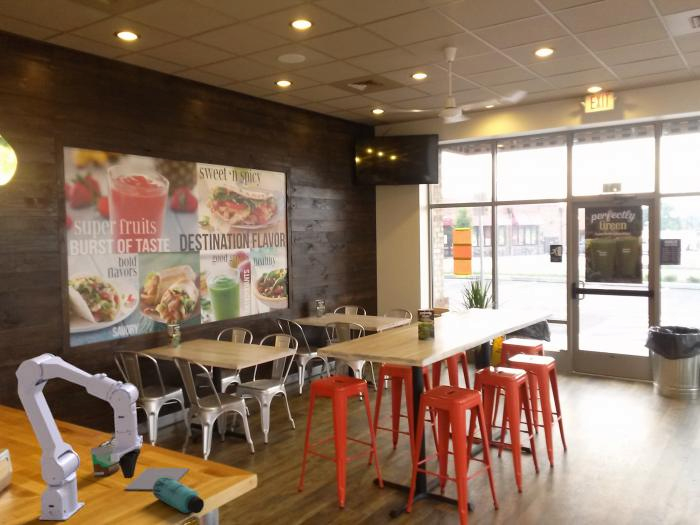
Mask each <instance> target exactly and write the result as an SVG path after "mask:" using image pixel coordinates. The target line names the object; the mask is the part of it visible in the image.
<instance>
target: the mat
mask: <svg viewBox="0 0 700 525" xmlns="http://www.w3.org/2000/svg"><path fill="white" fill-rule="evenodd" d="M189 471H190V468H189V467H187V468H185V467H184V468H180V467H178V468H177V467H147V468H146V469H145V470H143V471H142V473H141V472H140V474H139V475H138V476H137V477H136V478H135V479H134V480H132V482H130V483H129V484H128V485H127V486H126V487H125V488H124V491H140V490H153V486H154V483H155V482H156V481H157V480H158V479H159V478H161V477H164V476H165V477H170V478H171V479H173V480H175V481H177V482H180V480H181V479H182V478H183V477H184V476H185V475H186V474H187V473H188V472H189ZM186 472H187V473H186Z"/></svg>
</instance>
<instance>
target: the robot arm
mask: <svg viewBox="0 0 700 525" xmlns="http://www.w3.org/2000/svg"><path fill="white" fill-rule="evenodd" d="M15 376H16V378H17V394H18V397H19V399H20V402H21V404H22V406H23V409H24V410H25V414H26V415H27V418H28V420H29V423H30V424H31V427H32V430H33V432H34V434H35V436H36V440H37V441H38V444H39V446H40V448H41V451H42V454H41V458H40V459H39V460H40V461H39V464H40V466H41V477H42V480H44V482H45V483H46V488H45V489H44V491H43V492H42V494H41V495H40V507H41V508H40V509H41V515H40V516H39V517H38V519H39V520H41V521H43V520H45V521H48V520H49V521H66V520H68V519H69V518H71V517H72V516H73V515H74V514H75V513H76V512H78V511H79V510H80V509H81V508H82V507H83V506H85V502H78V501H79V500H78V485H77V483H78V482H77V470H78V469H79V467H80V465H81V459H80V456H79V454H78V453H77V452H76V451H74V449H73V447H72V445H70V443H67V442H64V440H63V438H62V435H61V433H60V431H59V429H58V426H57V424H56V422H55V420H54V417H53V415H52V414H53V413H52V412H51V409H50V407H49V405H48V403H47V401H46V400H47V399H46V398H45V396H44V393H43V389H44V387H45V385H46V383H47V382H48V380H49V379H54V378H60V379H63V380H66V381H68V382H71V383H73V384H77V385H80V386H82V387H85V389H86V392H87V393H88V394H90V395H92V396H95V397H97V398H99V399H101V400H103V401H106V402H108V403H109V405H110V406H111V407H112V408H113V413H114V416H113V418H114V432H115V433H114V435H115V436H116V446H115V448H114V451H113V453H112V454H111V462H118V463H119V465H120V470H121V472H122V476H123V478H124V479H132V478H133V477H134V476H135V471H136V465H137V462H138V458H139V456H140V453H141V449H140V448H142V447H143V442H144V440H143V435H139V434H138V417H137V415H138V414H137V402H136V401H137V400H138V399H139V389H138V388H137V386H135V384H133V383H131V382H126V383H123V382H122V381H121V380H118V381H117V380H116V379H115V380H114V379H112V378H110V377H108V375H107V374H106V373H105V372H103V373H96V374H94V375H93V374H91V373H88V372H86V371H84V370H82V369H80V368H78V367H76V366H75V365H72V364H70V363H69V362H66V361H64V360H63V359H62V358H61V357H60V356H57V355H56V356H55V355H53V354H52V353H47V352H45V353H43V354H41V355H39V356H36V357H33V358H30V359H27V360H24V361H22V362H21V364H20V365H19V367H17V369H16V372H15Z"/></svg>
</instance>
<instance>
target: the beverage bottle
mask: <svg viewBox="0 0 700 525" xmlns="http://www.w3.org/2000/svg"><path fill="white" fill-rule="evenodd" d="M152 493H153V496H154V498H156V499H157V500H159V501H161V502H162V503H164V504H167V505H168V506H170V507H172V508H174V509H176V510H178V511H180V512H181V513H184V514H188V513H193V514H199V513H201V511H203V508H204V506H205V501H204V500H203V499H202V498H201V497H199V496H200V495H199V493H198V492H197V490H195V489H193V488H190V486H189V487H188V486H187V485H186V484H183V483H182V482H180V481H178V482H177V481H175V480H173V479H171V478H170V477H165V476H164V477H161V478H159V479H158V480H157V481H156V482H155V483H154V486H153V491H152Z"/></svg>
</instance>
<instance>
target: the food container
mask: <svg viewBox="0 0 700 525" xmlns="http://www.w3.org/2000/svg"><path fill="white" fill-rule="evenodd" d="M111 436H112V437H111V438H109V440H107V441H106V440H105V441H104V442H102V443H100V444H99V445H98V446H96V447H93V446H92V447H90V451H89V452H90V453H89V455H91V460H92V467H93V475H94V476H93V477H94V478H104V477H109V476H113V475H114V474H117V473H118V472H119V471H120V470H121V467H120V465H119V463H118V462H111V454H112V453H113V451H114V448H115V446H116V436H115V434H114V435H113V434H112V435H111ZM116 472H117V473H116Z"/></svg>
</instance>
